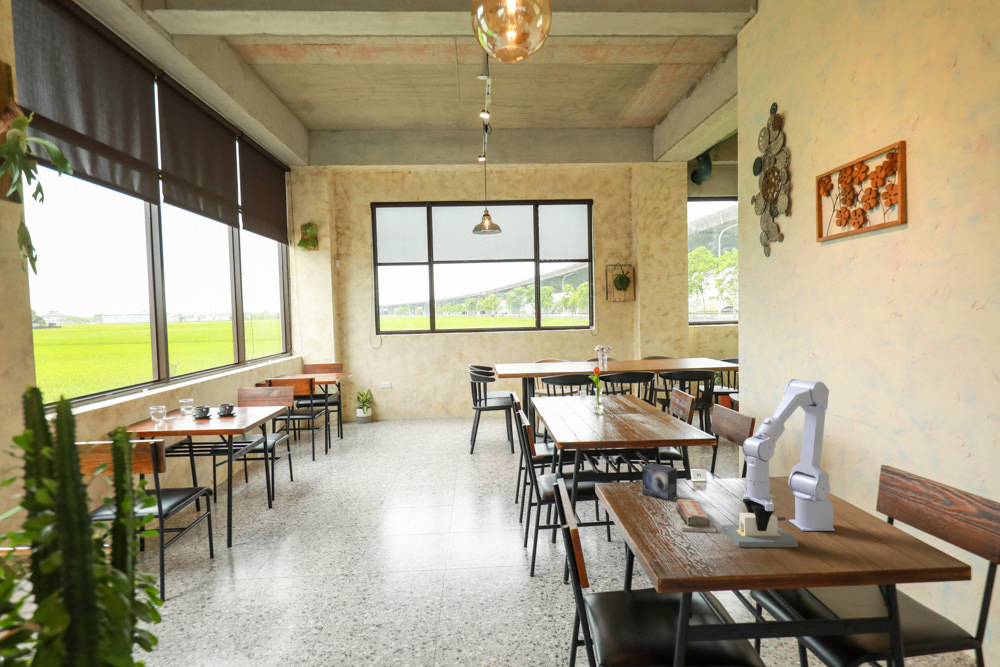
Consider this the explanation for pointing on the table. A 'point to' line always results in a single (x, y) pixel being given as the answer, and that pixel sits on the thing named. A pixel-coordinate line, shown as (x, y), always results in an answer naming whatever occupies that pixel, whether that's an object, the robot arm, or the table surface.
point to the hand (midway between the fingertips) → (758, 527)
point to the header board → (759, 538)
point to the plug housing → (750, 527)
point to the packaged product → (691, 516)
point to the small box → (660, 481)
